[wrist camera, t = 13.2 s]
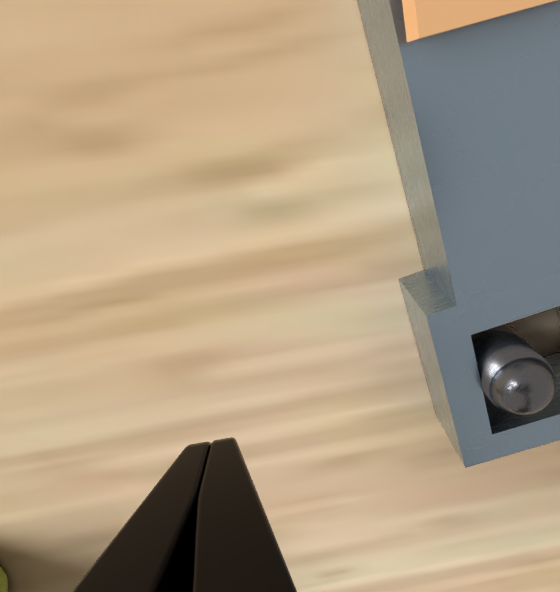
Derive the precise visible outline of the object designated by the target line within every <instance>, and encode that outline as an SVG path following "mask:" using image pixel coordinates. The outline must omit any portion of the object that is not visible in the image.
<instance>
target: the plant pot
mask: <svg viewBox="0 0 560 592" xmlns="http://www.w3.org/2000/svg"><path fill="white" fill-rule="evenodd" d="M0 592H8V579H7V575H6V574H5V572H4V570H3V569H2V568H1V567H0Z"/></svg>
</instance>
